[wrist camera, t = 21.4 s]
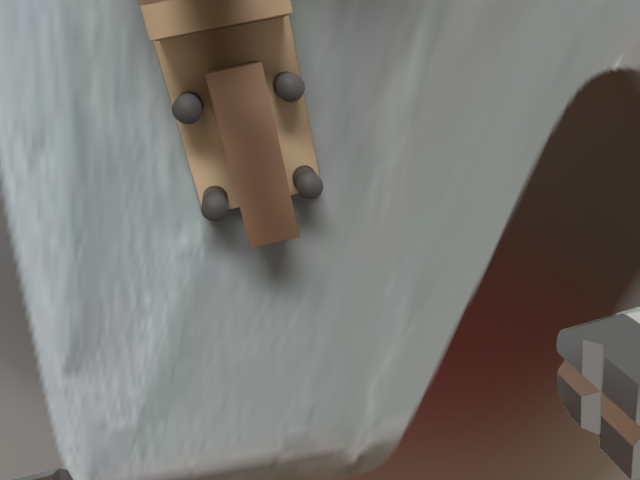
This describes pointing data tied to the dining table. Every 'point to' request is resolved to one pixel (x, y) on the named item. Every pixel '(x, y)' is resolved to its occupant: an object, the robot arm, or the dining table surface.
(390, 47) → the dining table surface
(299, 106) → the board
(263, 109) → the bar
